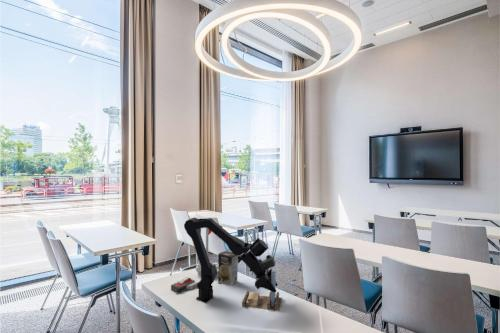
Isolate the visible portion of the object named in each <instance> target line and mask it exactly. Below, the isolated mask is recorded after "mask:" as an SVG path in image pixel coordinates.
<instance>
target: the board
mask: <svg viewBox="0 0 500 333" xmlns="http://www.w3.org/2000/svg"><path fill="white" fill-rule="evenodd" d="M276 272H277V271H276V269H275V270H274V269H272V274H271V283H272V285H273V286H274V287H275V289H276V287H277V286H276V282H277V280H276V279H277V278H276V277H277V274H276ZM276 290H277V289H276ZM276 294H277V291H276V292H272V291H271V306H275V300H276Z"/></svg>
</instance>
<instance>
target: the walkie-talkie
mask: <svg viewBox="0 0 500 333" xmlns="http://www.w3.org/2000/svg"><path fill="white" fill-rule="evenodd" d="M199 282H200V281H198V282H196V281H195V279H192V278H191V277H189V276H187V277H184V278H182V279H181V280H179V281H177V282H175V283H173V284H171V285H170V290H171V291H172V292H175V293H178V294H180V293H182V292H183V291H186V290H187V291H188V290H193V289H195V288H198V287H197V284H198V283H199Z"/></svg>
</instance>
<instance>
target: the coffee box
mask: <svg viewBox="0 0 500 333" xmlns="http://www.w3.org/2000/svg"><path fill="white" fill-rule="evenodd" d="M217 255H218V256H217V258H218V259H217V260H218V262H217V264H218V270H217V271H218V272H217V281H218V282H217V283H218V284H220V285H221V284H225V285H228V286H233V285H235V284H236V283H237V282H238V271H239V270H238V269H239V268H238V267H239V266H238V264H239V263H238V256H239V255H235V254H233V253H232V251H226V250H225V251H222V252H219V253H218V254H217Z"/></svg>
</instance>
